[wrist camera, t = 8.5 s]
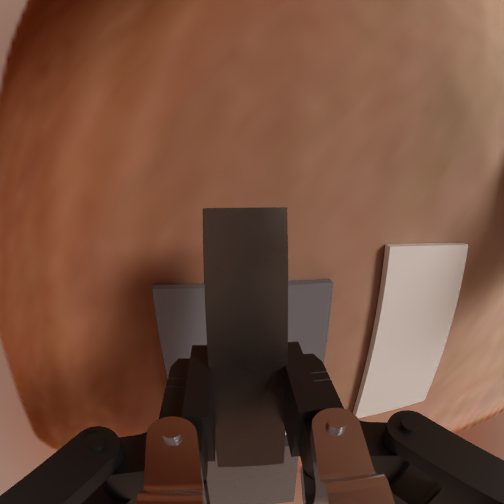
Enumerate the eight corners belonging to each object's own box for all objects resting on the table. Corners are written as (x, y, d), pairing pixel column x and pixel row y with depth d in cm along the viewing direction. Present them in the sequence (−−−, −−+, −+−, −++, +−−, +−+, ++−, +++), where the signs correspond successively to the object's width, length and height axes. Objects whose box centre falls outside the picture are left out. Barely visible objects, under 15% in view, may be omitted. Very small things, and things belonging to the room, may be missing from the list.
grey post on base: (188, 218, 11) (175, 209, 8) (292, 216, 12) (313, 208, 9) (209, 481, 12) (207, 521, 9) (286, 477, 12) (297, 516, 9)
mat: (154, 284, 16) (151, 288, 16) (329, 279, 17) (332, 282, 16) (181, 427, 19) (180, 433, 19) (310, 421, 20) (312, 426, 20)
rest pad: (385, 244, 17) (390, 246, 16) (463, 242, 17) (468, 244, 17) (352, 414, 20) (354, 418, 20) (421, 396, 21) (424, 400, 20)
